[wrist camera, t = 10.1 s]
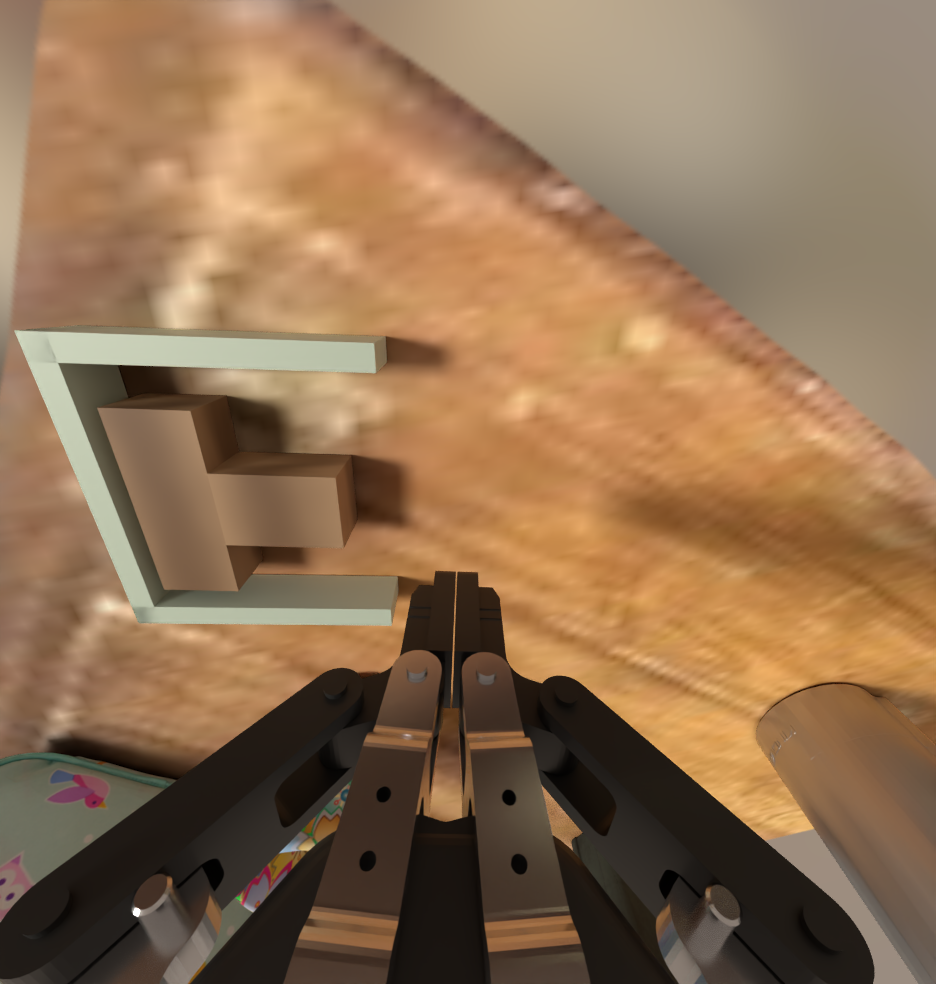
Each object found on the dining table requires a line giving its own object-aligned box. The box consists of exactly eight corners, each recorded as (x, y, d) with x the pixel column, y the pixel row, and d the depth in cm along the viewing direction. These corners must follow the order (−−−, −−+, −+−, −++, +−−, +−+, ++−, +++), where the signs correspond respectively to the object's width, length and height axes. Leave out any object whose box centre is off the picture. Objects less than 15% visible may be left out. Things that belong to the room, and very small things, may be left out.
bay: (385, 336, 19) (374, 343, 17) (398, 591, 26) (391, 625, 23) (77, 325, 19) (14, 330, 16) (172, 588, 25) (138, 623, 23)
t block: (346, 399, 20) (328, 415, 18) (361, 561, 25) (348, 593, 22) (145, 392, 20) (96, 407, 18) (197, 557, 25) (164, 589, 22)
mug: (284, 672, 29) (199, 857, 20) (411, 659, 29) (388, 840, 19) (328, 770, 34) (279, 953, 25) (436, 760, 34) (429, 941, 24)
